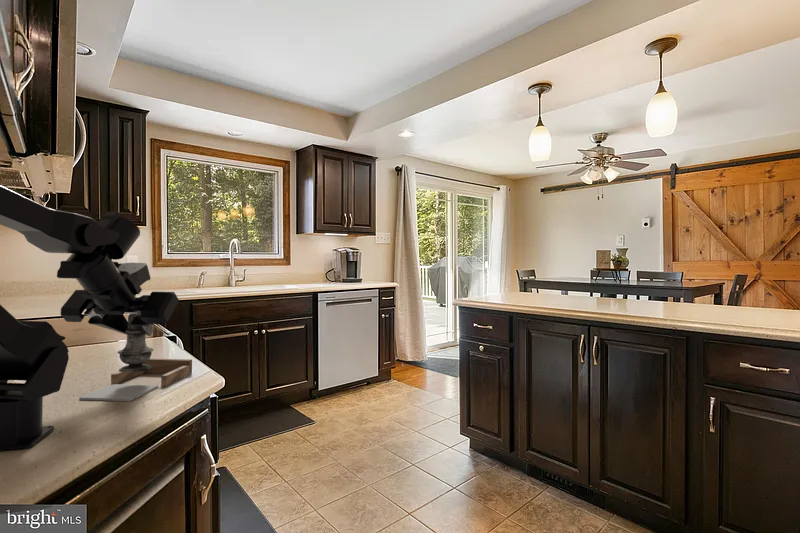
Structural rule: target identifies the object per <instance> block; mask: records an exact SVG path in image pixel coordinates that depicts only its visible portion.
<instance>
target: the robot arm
mask: <svg viewBox="0 0 800 533" xmlns="http://www.w3.org/2000/svg"><path fill="white" fill-rule="evenodd" d="M0 225H1V226H3V227H4V228H5V227H6V228H9V229H11V230H14V231H16V232H18V233H19V234H22V235H23V236H24V238H25V239H26V241H27V242H28V243H30V245H33V246H34V247H36V248H38V249H39V250H41V251H43V252H44V253H49V254H70V256H68V258H67V259H65V260H61V261H60V265H59V268H58V269H57V272H56V278H58V279H69V280H70V279H73V280H74V279H75V280H77V282H78V283H79V285H80V286H81V287H82V288H83V289H75V291H73V292H72V293H71V295H70V296H69V297H68V299H67V300H66V302H65V303H63V305H62V306H61V308H60V316H61V317H62V318H63V319H64V321H65V322H66V323H81V322H82V321H83V320H84V318H85V316H87V317H88V318H89V319H88V321H87V323H88V324H89V325H91V326H92V325H93V326H97V327H101V328H104V329H108V330H111V331H114V332H117V333H120V334H122V335H123V334H124V335H126V336H127V332H125V331H127V330H128V319H126V318H127V317H126V316H125V314H135V313H136V314H135V317H134V319H133V320H132V322H131V324H130V325H131V326H133V327H134V328H136V329H138V330H139V331H141V332H142V333H144V334H145V336H148V337H151V336H152V334H153V332H154V329H153V328H154V326H153V325H164V324H166V323H167V322H168V323H169V320H170V318H171V316H172V315H173V313H174V311H175V309H176V307H177V306H178V304H179V301H180V300H179V298H178V296H177V294H176V293H175V292H174V291H162V290H161V291H159V290H158V291H151V293H150V294H143V295H141V296H139V297H137V295H140V294H141V292H142V290H143V289H142V287H141V286H142V285H143V284H145V283H146V282H147V281H150V280H151V275H150V270H149V266H148V264H147V263H146V262H122V263H121V262H120V263H119V261H118V260H121V259H123V258H124V257H125V256H126V254H127V253H128V252H129V250H131V248H132V247H133V245H134V244H135V242H136V241H137V240H138V238H139V237H140V236H141V230H140V228H139V227H138V225H136V224H135V223H134V222H133V221H131V220H129V219H128V218H127V217H123V216H121V215H120V213H119V211H106V212H105V213H104V214H103V216H102V218H101V219H100V221H98V222H97V221H96V220H95V219H93V217H90V216H87V215H83V214H79V213H76V212H70V211H65V210H60V209H53V208H51V207H47V206H45V205H43V204H41V203H39V202H37V201H34V200H33V199H30V198H28V197H26V196H24V195H22V194H20V193H18V192H16V191H13V190H12V189H9V188H7V187H6V186H3V185H0ZM114 260H115V261H114ZM116 260H117V261H116ZM65 340H66V337H65V336H63V335H60V333H58V332H57V331H56V329H55V328H54V326H53V325H52V324H51V323H49V322H48V321H45V320H18V319H17V318H16V317H15V316H13V314H12V313H10V312H9V311H8V310H7V309H6V308H5V307H4V306H3V305H1V304H0V451H3V450H2V449H9V450H17V449H18V450H19V449H27V448H31V447H33V446H34V445H36V443H38V442H39V441H40V440H42V439H43V438H44V437H46V436H47V435H49V434H50V433H51V432H53V431H54V430H55V425H43V420H44V419H43V415H44V414H43V413H44V412H43V408H44V405H43V404H44V403H43V402H44V397H46V396H49V395H52V394H54V393H57V392H59V391H60V390H61V386H62V383H63V379H64V377H65V373H66V369H67V367H68V366H67V365H68V363H69V358H70V357H69V349H68V346H67V344H66V343H65V342H64V341H65ZM8 381H20V382H21V381H24V382H23V383H22V382H21V383H20V382H8Z"/></svg>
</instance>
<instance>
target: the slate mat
mask: <svg viewBox="0 0 800 533" xmlns="http://www.w3.org/2000/svg"><path fill="white" fill-rule="evenodd" d="M158 388H159V385H156V384H128V383H126V384H123V383H122V384H121V383H119V384H111V383H110V384H109V385H107V386H104V387H102V388H99V389H96V390H94V391H92V392H90V393H87V394H85V395H81V396H80V397H78V398H79V399H78V400H80V401H81V400H82V401H109V402H111V401H112V402H131V400H132V401H133V399H134V400H136V399H137V398H140V397H142V396H144V395H146V394H148V393H150V392H152V391H154V390H156V389H158ZM135 398H136V399H135Z"/></svg>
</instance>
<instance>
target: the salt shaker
mask: <svg viewBox="0 0 800 533" xmlns="http://www.w3.org/2000/svg"><path fill="white" fill-rule="evenodd" d="M128 314H129V313H128ZM135 314H136V313H135ZM135 314H129V315H128V316H127V321H128V330H127V331H125V332H127V335H126V344H125V347H124V348H123V349H120V350H118V351H117V354H119V355H118V356H119V359H120V361H121V362H122V363H123V364H125V365H124V366H122V367H120V368H119V369H118V371H120V372H140V371H145V370H149V369H151V366H149V365H147V364H142V363H144V362H147V361H148V360H149V359H150V358H152V357H151V356H152V355H153V354H152V352H153V351H154V350H155V349H154V348H152V347H149V346H147V343H146V334H144V333H142V332H141V331H139V330H138V329H136V328H134V327H133V326H131V325H130V324H131V322H132V320H133V319H134V317H135Z"/></svg>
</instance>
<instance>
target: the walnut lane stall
mask: <svg viewBox="0 0 800 533" xmlns="http://www.w3.org/2000/svg"><path fill="white" fill-rule="evenodd" d="M142 364H147V365H149V366H151V369H149V370H145V371H140V372H120V371H119V370H118V371H115V372H113V373H111V375H110V385H111V384H121V383H123V382H125V381H128V380H130V379H133V378H136V377H137V376H140V375H142V374H162V375H161V376H160V378H161V380H160V382H161V384H160V385H161V386H162V387H168V386H169V385H171V384H173V383H175V382H177V381H179V380H181V379H183V378H184V376H185V377H187V376H189V375H191V374H192V373H193V372H192V371H193V359H191V358H187V359H185V358H156V357H155V358H152V357H150V359H149V360H148V361H147V362H144V363H142ZM190 373H191V374H190ZM188 374H189V375H188ZM186 375H187V376H186ZM182 377H183V378H182ZM180 378H181V379H180ZM178 379H179V380H178ZM176 380H177V381H176ZM174 381H175V382H174Z"/></svg>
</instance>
